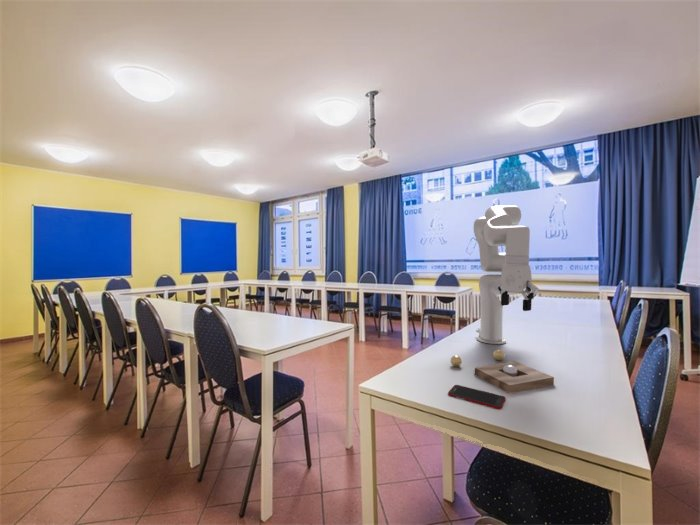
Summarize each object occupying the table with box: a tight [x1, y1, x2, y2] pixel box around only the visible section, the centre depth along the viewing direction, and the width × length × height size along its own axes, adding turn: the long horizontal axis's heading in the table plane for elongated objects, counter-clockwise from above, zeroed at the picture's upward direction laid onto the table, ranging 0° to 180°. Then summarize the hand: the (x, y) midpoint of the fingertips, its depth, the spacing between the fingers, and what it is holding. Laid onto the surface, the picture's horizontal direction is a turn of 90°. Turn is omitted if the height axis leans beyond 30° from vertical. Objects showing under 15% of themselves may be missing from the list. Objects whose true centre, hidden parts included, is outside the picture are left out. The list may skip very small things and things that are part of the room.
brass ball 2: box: [493, 349, 506, 361], centre depth 121 cm, size 4×4×4 cm
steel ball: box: [503, 365, 518, 377], centre depth 103 cm, size 4×4×4 cm
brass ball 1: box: [450, 355, 463, 368], centre depth 114 cm, size 4×4×4 cm
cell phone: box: [447, 384, 507, 410], centre depth 90 cm, size 8×15×1 cm, turn 54°
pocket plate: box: [474, 361, 555, 394], centre depth 102 cm, size 15×18×2 cm
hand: (515, 307), depth 112 cm, fingers open, 9 cm apart
